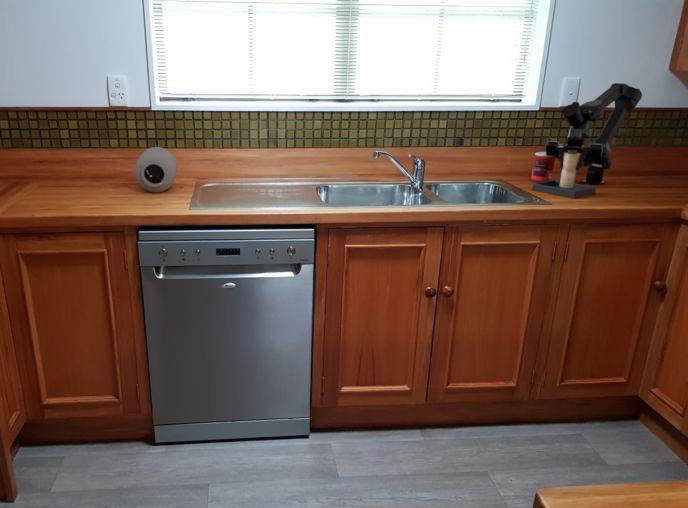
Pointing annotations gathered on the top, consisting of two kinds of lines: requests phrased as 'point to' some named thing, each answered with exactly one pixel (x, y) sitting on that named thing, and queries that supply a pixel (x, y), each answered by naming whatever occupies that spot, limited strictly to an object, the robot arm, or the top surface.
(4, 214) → the top surface
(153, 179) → the grey egg shaped device
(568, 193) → the tray
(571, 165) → the pepper mill
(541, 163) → the canned food
